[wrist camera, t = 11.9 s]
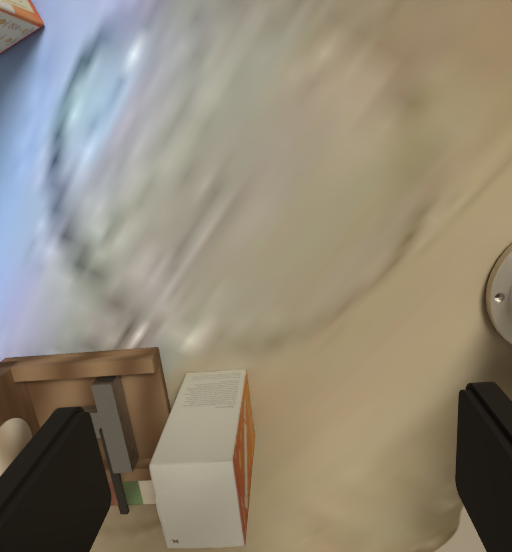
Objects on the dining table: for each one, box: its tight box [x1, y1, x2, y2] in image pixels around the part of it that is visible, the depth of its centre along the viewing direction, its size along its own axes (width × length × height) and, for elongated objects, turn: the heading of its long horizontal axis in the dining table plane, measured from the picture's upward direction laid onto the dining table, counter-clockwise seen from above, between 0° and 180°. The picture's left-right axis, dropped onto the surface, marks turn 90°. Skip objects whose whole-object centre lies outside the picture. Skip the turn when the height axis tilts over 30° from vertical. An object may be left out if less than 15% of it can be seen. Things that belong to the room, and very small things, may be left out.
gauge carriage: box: [50, 375, 139, 514], centre depth 44 cm, size 8×16×2 cm, turn 6°
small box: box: [149, 369, 255, 548], centre depth 38 cm, size 8×6×13 cm
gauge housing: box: [0, 347, 171, 506], centre depth 41 cm, size 16×18×9 cm
